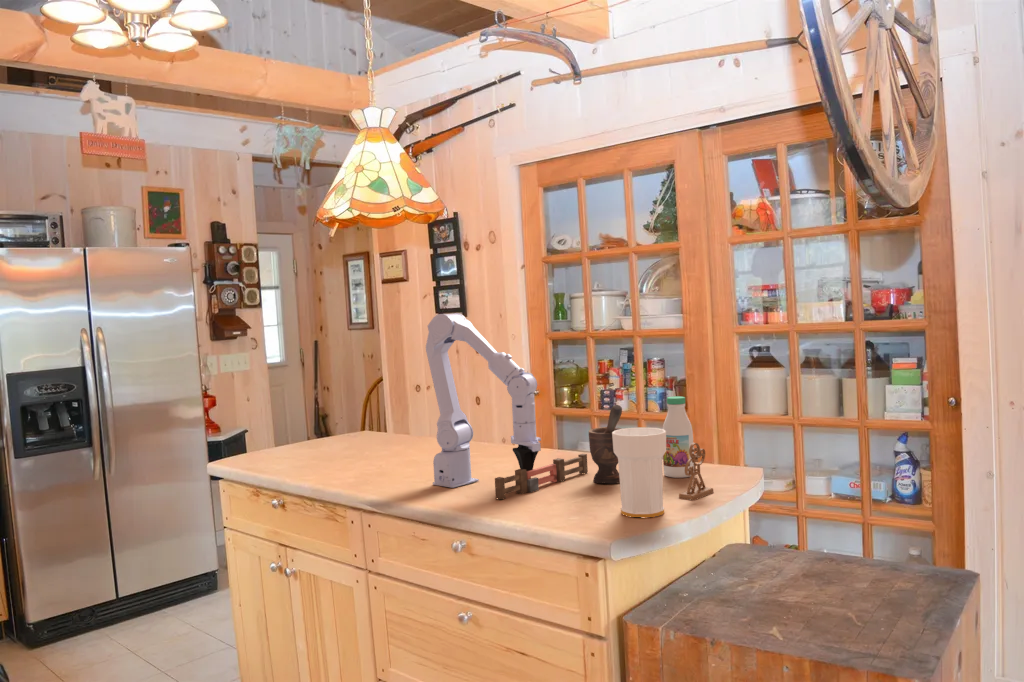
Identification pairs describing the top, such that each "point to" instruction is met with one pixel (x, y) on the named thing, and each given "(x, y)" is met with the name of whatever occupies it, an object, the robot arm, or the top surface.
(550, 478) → the gate
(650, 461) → the cup
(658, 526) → the top surface
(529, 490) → the fence
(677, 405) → the milk bottle
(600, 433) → the mortar and pestle
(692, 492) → the gingerbread man figurine
